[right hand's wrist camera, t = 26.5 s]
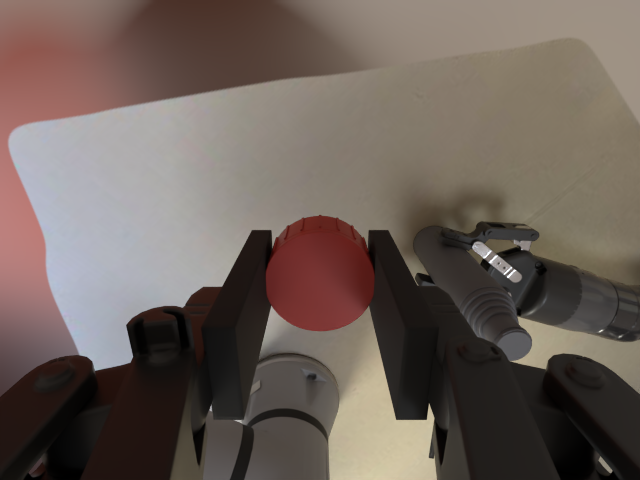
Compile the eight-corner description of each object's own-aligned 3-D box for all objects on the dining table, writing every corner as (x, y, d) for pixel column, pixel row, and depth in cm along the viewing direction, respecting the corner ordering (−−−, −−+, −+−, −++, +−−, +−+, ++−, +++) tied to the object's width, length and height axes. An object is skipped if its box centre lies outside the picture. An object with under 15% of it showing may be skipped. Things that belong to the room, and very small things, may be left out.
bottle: (458, 246, 48) (558, 351, 28) (426, 267, 49) (500, 383, 29) (438, 218, 47) (528, 307, 27) (405, 240, 48) (469, 342, 28)
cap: (358, 202, 14) (365, 217, 12) (379, 294, 15) (387, 320, 13) (257, 227, 14) (247, 245, 12) (286, 315, 15) (281, 342, 14)
